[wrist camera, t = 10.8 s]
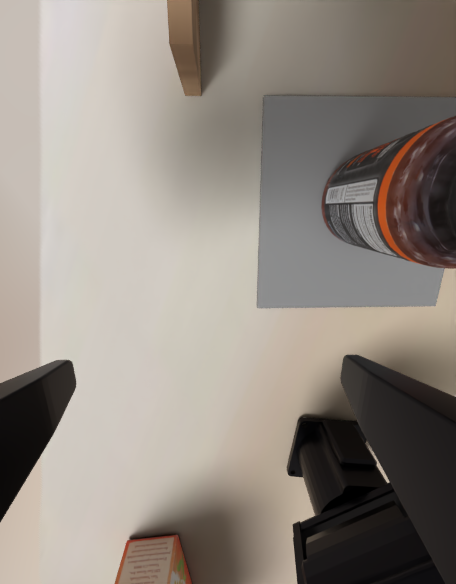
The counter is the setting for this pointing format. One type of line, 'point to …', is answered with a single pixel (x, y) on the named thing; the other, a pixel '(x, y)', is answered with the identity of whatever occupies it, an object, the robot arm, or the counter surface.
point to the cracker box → (153, 562)
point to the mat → (308, 199)
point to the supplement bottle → (399, 197)
